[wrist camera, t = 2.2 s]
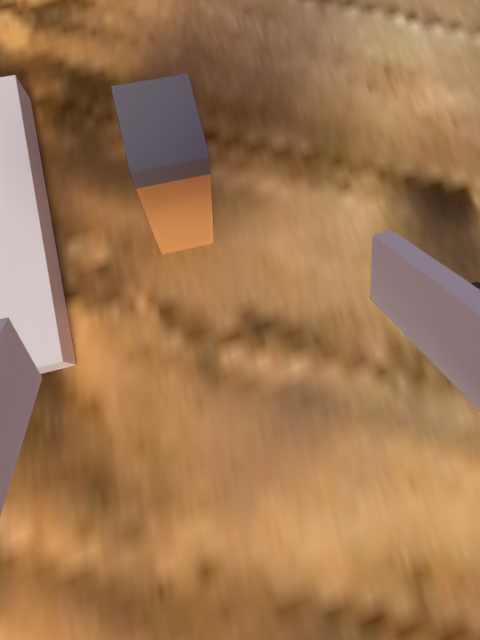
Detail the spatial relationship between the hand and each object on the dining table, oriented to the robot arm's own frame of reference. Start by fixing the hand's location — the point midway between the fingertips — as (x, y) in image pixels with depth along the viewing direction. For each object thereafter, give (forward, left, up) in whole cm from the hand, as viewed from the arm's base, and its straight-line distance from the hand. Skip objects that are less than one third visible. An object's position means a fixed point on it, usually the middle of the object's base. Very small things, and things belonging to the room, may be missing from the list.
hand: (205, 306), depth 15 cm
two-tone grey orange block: (-9, -6, -15) cm, 18 cm away
